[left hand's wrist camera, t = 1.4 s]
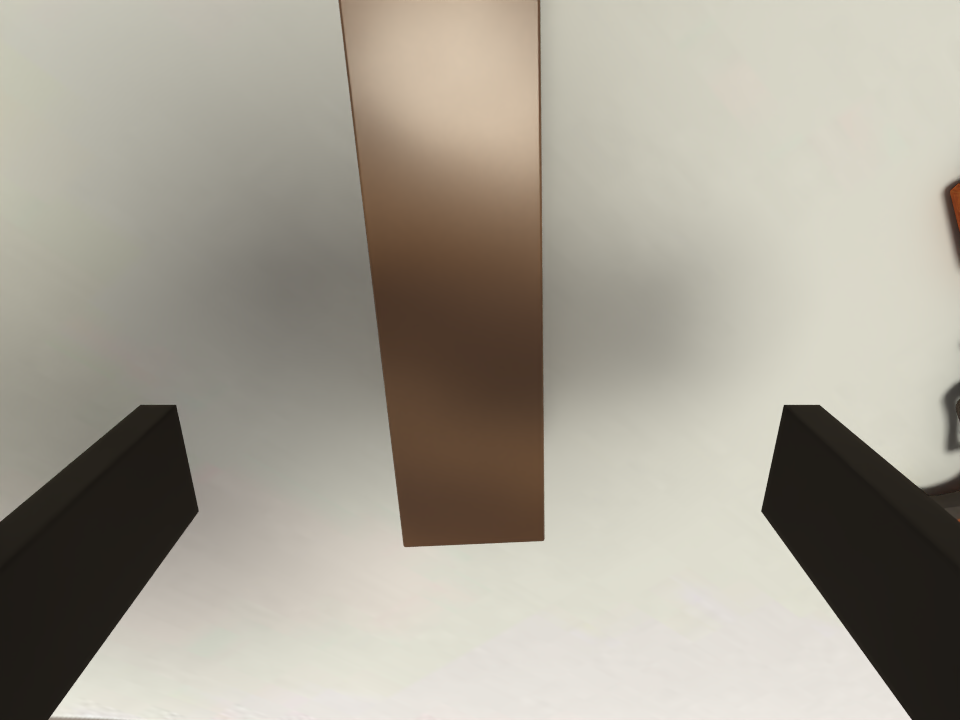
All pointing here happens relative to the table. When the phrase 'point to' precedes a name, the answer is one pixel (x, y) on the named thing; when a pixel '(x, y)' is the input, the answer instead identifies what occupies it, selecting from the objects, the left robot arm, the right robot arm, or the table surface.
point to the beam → (455, 255)
